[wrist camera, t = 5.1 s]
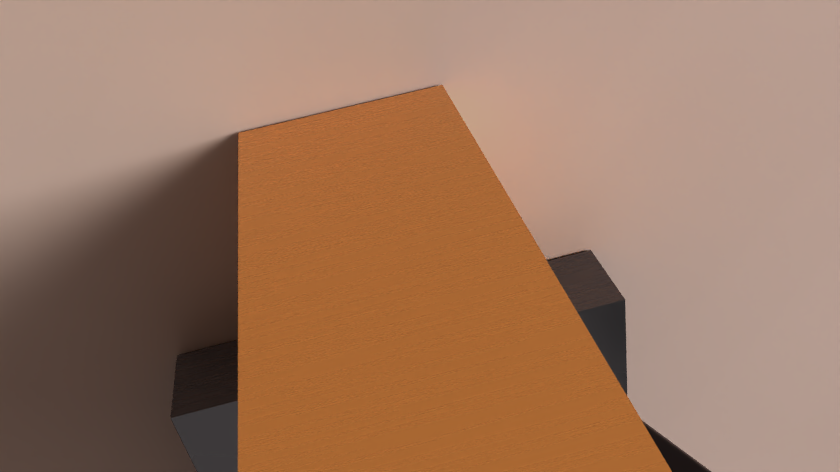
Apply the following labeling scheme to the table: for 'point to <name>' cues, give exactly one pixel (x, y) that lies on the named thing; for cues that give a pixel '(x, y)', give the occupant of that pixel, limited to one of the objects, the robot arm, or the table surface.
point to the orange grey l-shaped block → (404, 315)
